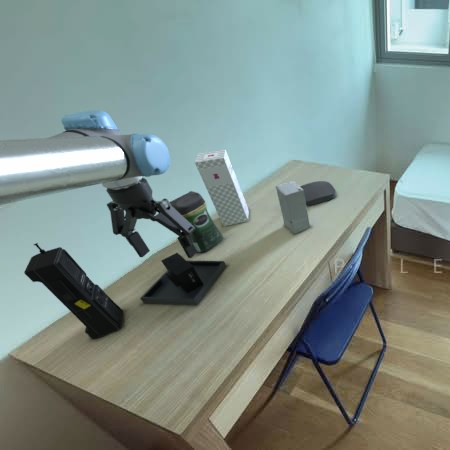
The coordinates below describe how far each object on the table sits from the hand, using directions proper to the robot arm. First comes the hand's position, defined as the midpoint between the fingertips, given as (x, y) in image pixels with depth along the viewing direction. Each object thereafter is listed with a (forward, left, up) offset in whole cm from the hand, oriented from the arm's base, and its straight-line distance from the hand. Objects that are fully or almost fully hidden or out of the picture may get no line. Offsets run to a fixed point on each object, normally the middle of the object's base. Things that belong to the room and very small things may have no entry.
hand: (168, 254), depth 82 cm
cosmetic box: (+29, -23, -12) cm, 39 cm away
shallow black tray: (0, 0, -11) cm, 11 cm away
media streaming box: (+51, -23, -12) cm, 57 cm away
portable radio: (-15, +11, -12) cm, 22 cm away
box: (+34, +3, -12) cm, 36 cm away
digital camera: (0, +1, -11) cm, 11 cm away
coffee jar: (+18, +5, -12) cm, 22 cm away
